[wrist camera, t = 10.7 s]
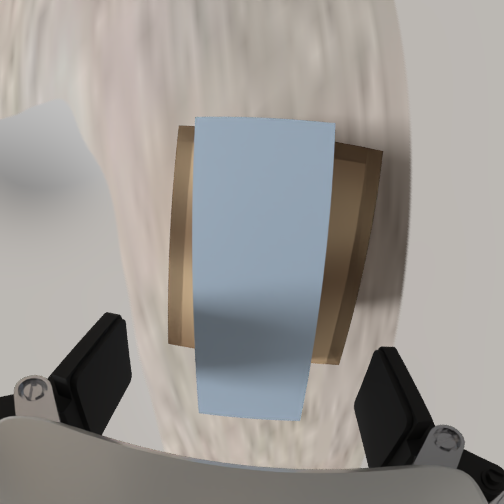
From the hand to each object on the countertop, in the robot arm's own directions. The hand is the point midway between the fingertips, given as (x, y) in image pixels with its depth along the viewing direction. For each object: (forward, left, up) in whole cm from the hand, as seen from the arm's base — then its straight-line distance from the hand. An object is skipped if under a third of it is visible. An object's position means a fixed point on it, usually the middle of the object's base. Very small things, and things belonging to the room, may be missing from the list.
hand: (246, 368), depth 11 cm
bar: (-3, 0, -6) cm, 6 cm away
